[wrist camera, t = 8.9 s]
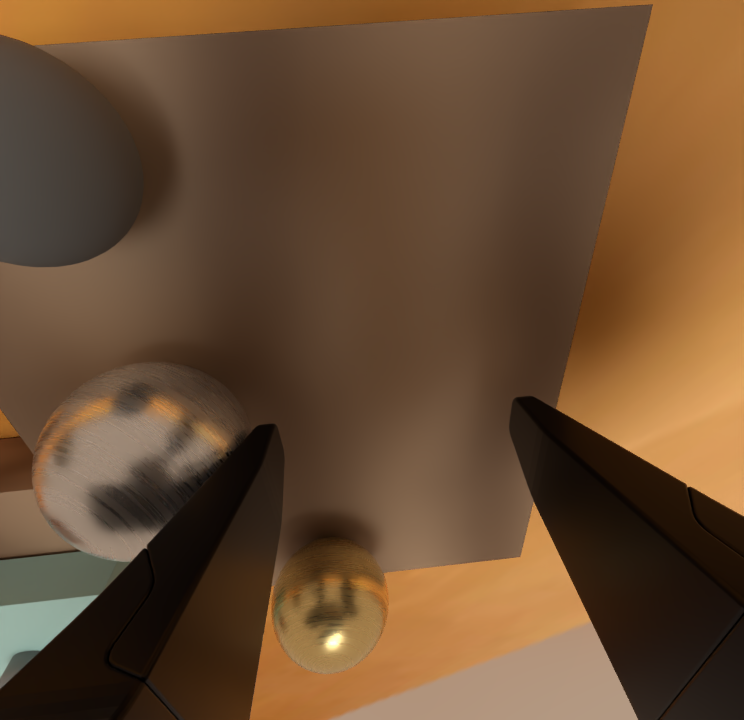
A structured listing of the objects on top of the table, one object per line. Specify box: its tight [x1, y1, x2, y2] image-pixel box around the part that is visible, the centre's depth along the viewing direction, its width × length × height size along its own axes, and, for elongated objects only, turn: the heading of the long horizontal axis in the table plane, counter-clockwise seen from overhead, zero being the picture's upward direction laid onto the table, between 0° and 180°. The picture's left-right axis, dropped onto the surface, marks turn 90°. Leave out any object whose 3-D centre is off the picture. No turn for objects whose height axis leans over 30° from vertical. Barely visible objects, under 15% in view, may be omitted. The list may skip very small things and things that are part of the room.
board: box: [0, 4, 653, 586], centre depth 12 cm, size 22×16×2 cm
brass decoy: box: [271, 537, 389, 674], centre depth 12 cm, size 4×4×4 cm
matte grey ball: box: [0, 35, 144, 267], centre depth 6 cm, size 3×3×3 cm
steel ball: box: [32, 362, 252, 562], centre depth 8 cm, size 4×4×4 cm
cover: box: [0, 551, 130, 689], centre depth 14 cm, size 7×7×2 cm
